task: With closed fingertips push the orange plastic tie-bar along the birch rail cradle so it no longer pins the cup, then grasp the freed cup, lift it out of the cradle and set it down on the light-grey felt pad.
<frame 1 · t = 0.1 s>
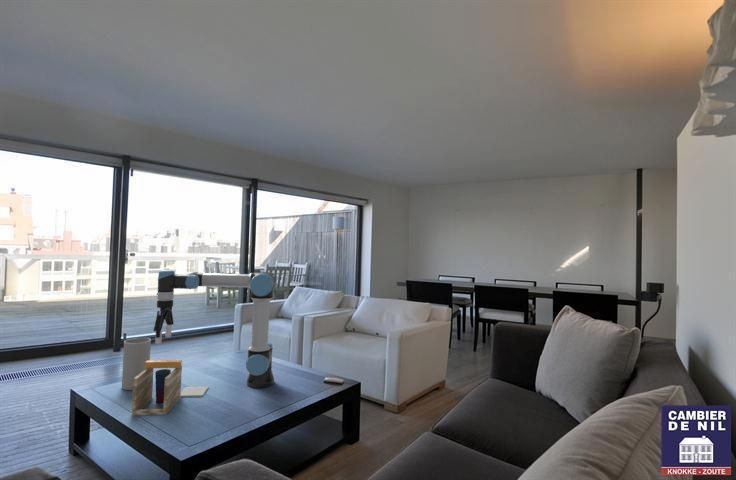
hand: (163, 340, 198), 28 cm above the table, fingers open, 13 cm apart
cradle: (161, 401, 189), on the table
cylinder vase: (135, 386, 207), on the table
pad: (193, 392, 202), on the table
cup: (161, 401, 189), on the table
tie bar: (163, 364, 189), point 19 cm above the table, slide at 0.0 cm
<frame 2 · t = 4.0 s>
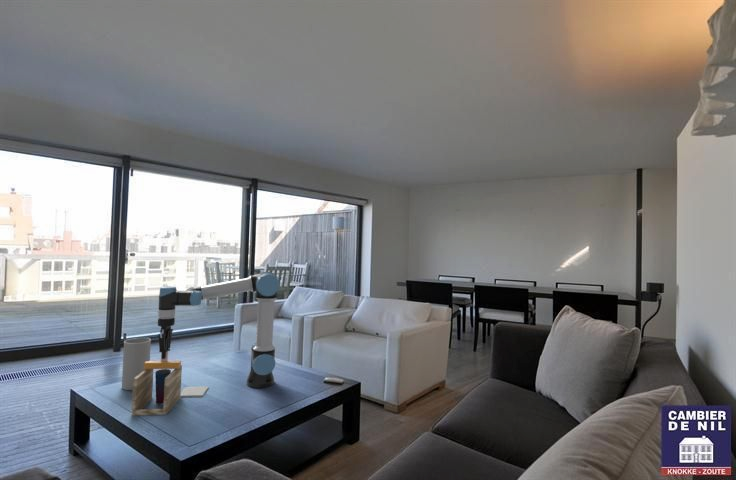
hand: (164, 364, 190), 18 cm above the table, fingers closed
tie bar: (162, 364, 188), point 18 cm above the table, slide at 1.1 cm, touching gripper
everything else where it was.
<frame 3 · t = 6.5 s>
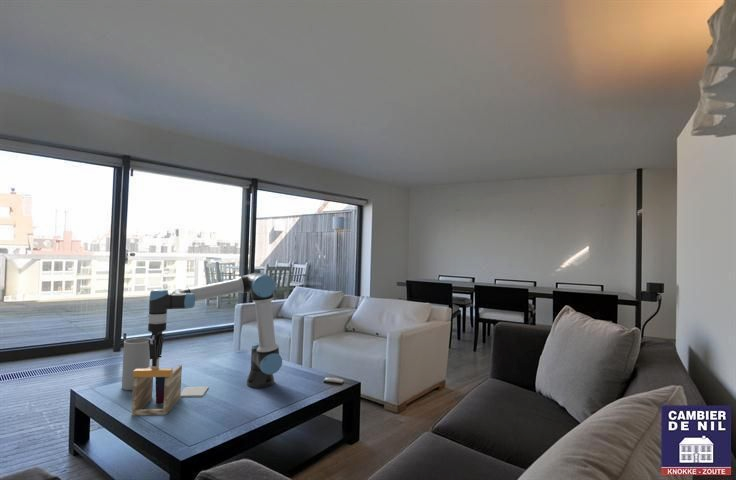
hand: (154, 372, 179), 18 cm above the table, fingers closed
tie bar: (153, 372, 177), point 19 cm above the table, slide at 12.6 cm, touching gripper
everything else where it was.
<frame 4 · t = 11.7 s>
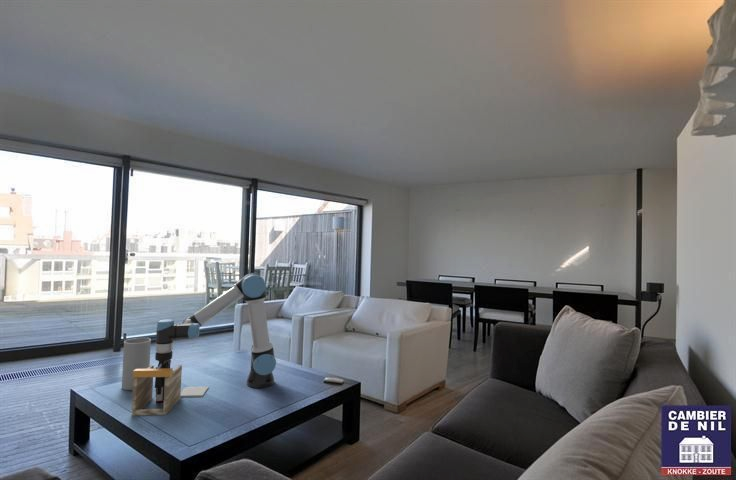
hand: (161, 397, 189), 2 cm above the table, fingers closed on cup, 6 cm apart
cup: (161, 401, 189), on the table, touching gripper
tie bar: (153, 372, 177), point 19 cm above the table, slide at 12.7 cm
everything else where it was.
when the fingers open (5 cm above the table, at t = 18.4 s): cup drops 2 cm, resting on pad.
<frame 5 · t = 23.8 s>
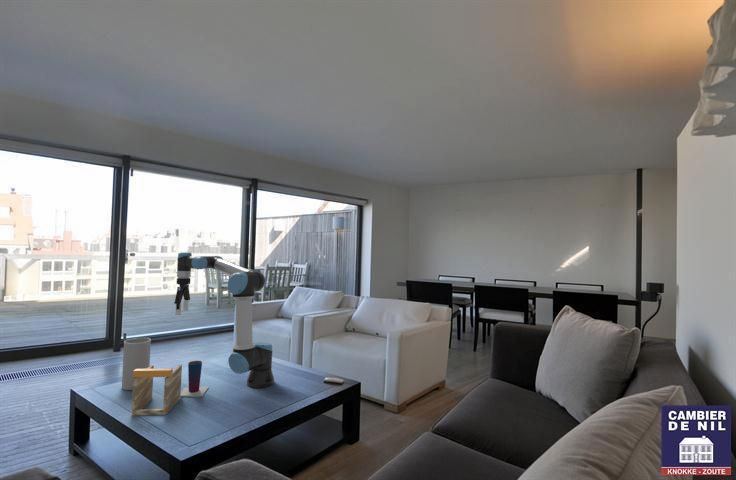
hand: (181, 312, 229), 37 cm above the table, fingers open, 13 cm apart
cup: (193, 391, 202), point 1 cm above the table, touching pad
everything else where it was.
at the end: tie bar slide at 12.7 cm; cup inside the target area on the pad (0.2 cm from its centre), point 0.6 cm above the pad's base; cup tilted 0° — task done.
